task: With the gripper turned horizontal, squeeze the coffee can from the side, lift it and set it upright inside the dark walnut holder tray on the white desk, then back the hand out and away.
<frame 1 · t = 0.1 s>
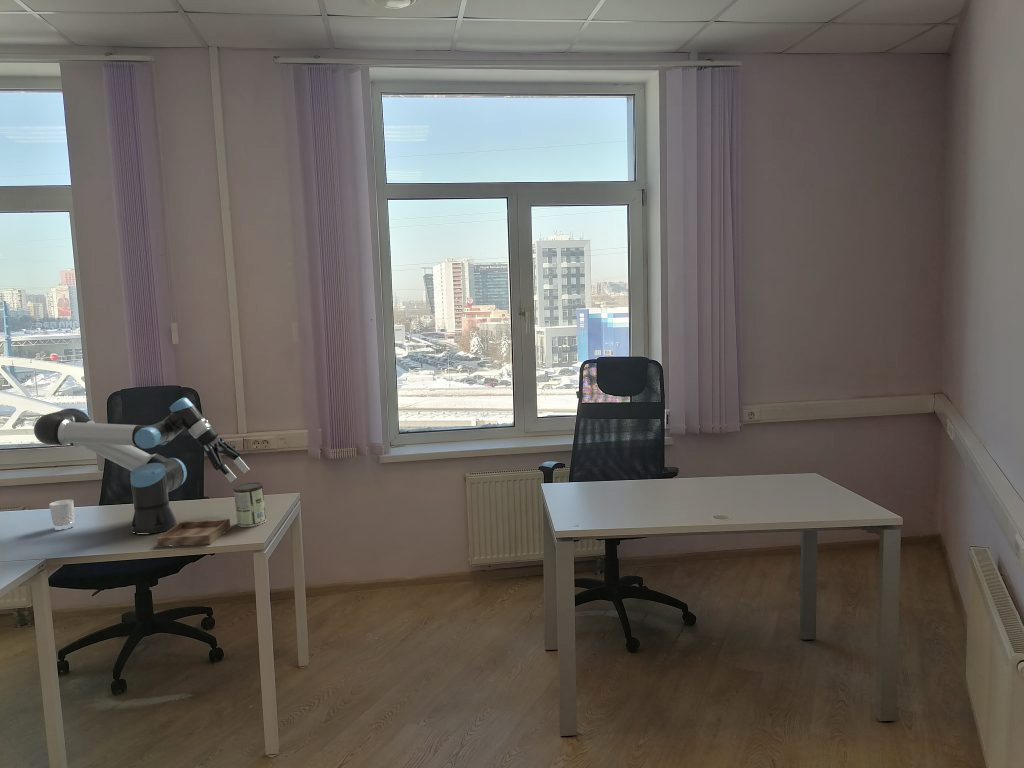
hand: (240, 475, 291), 15 cm above the table, tool tilted 35°, fingers open, 13 cm apart
holder tray: (195, 537, 267), on the table
white cup: (64, 528, 288), on the table
coffee can: (251, 523, 280), on the table
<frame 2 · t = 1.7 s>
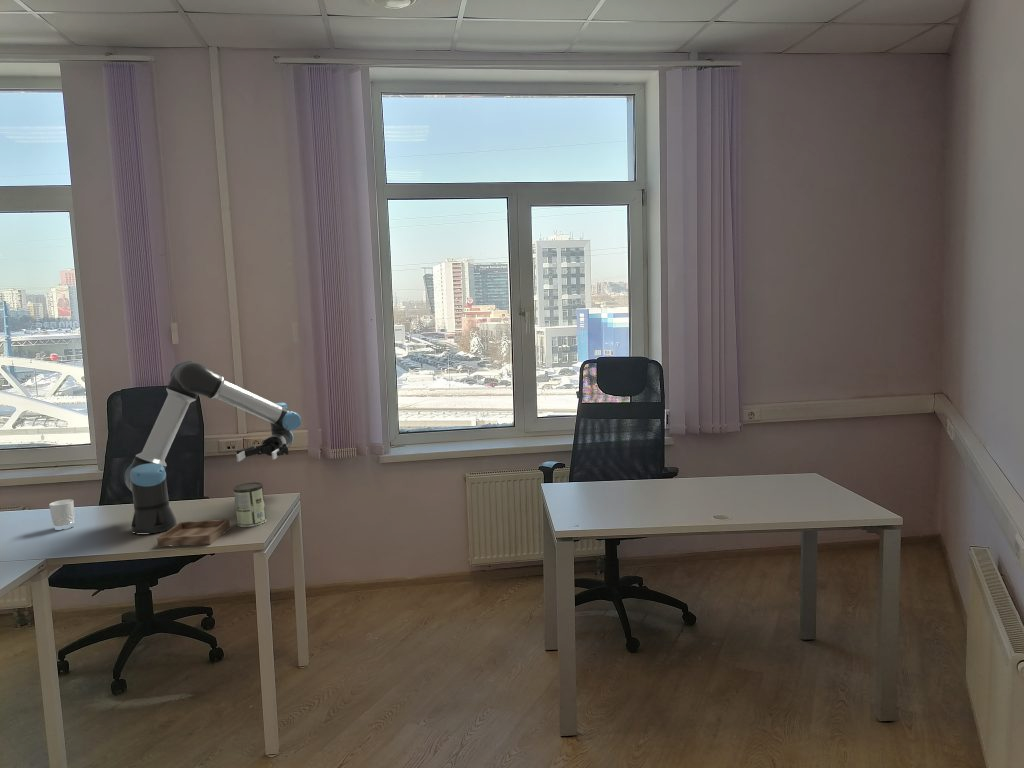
hand: (255, 457, 288), 23 cm above the table, tool horizontal, fingers open, 13 cm apart
nothing on the table moved.
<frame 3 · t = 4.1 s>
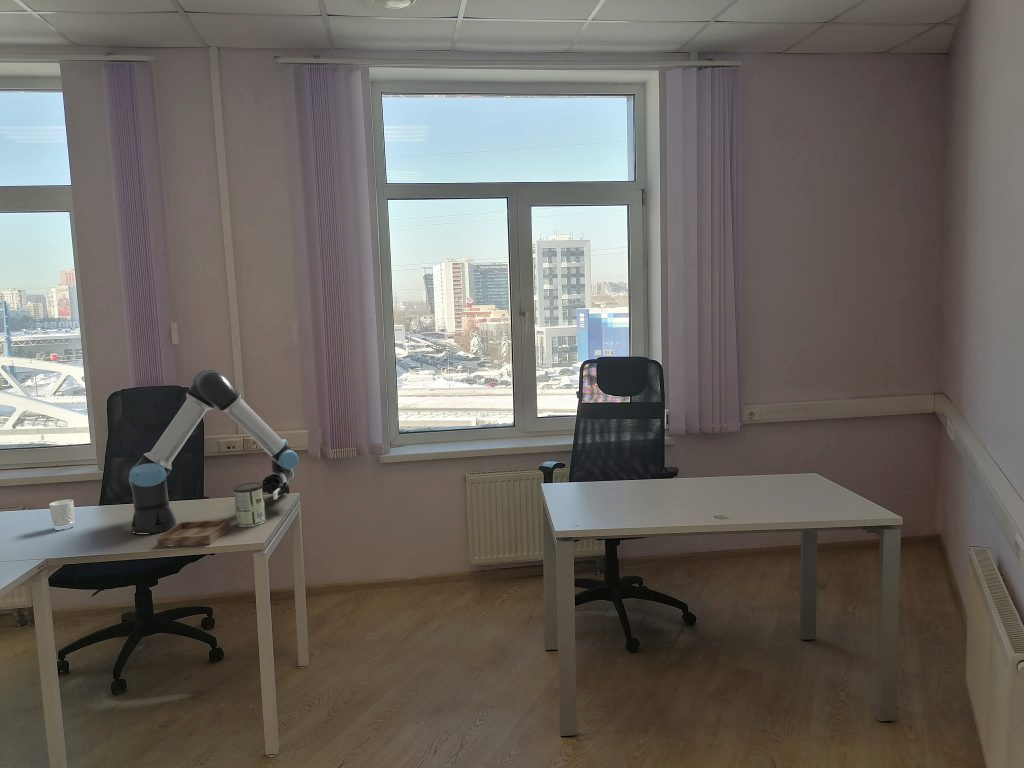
hand: (256, 497, 284), 8 cm above the table, tool horizontal, fingers open, 13 cm apart
nothing on the table moved.
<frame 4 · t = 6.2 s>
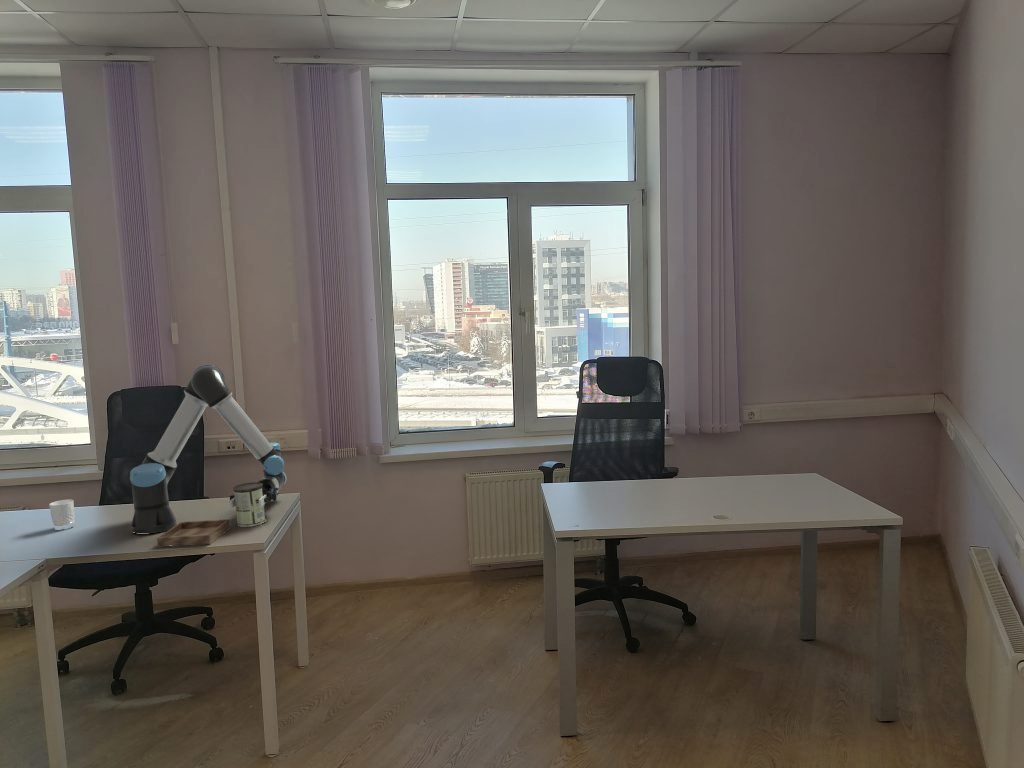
hand: (245, 504, 275), 8 cm above the table, tool horizontal, fingers closed on coffee can, 10 cm apart
coffee can: (251, 523, 280), on the table, touching gripper
everything else where it was.
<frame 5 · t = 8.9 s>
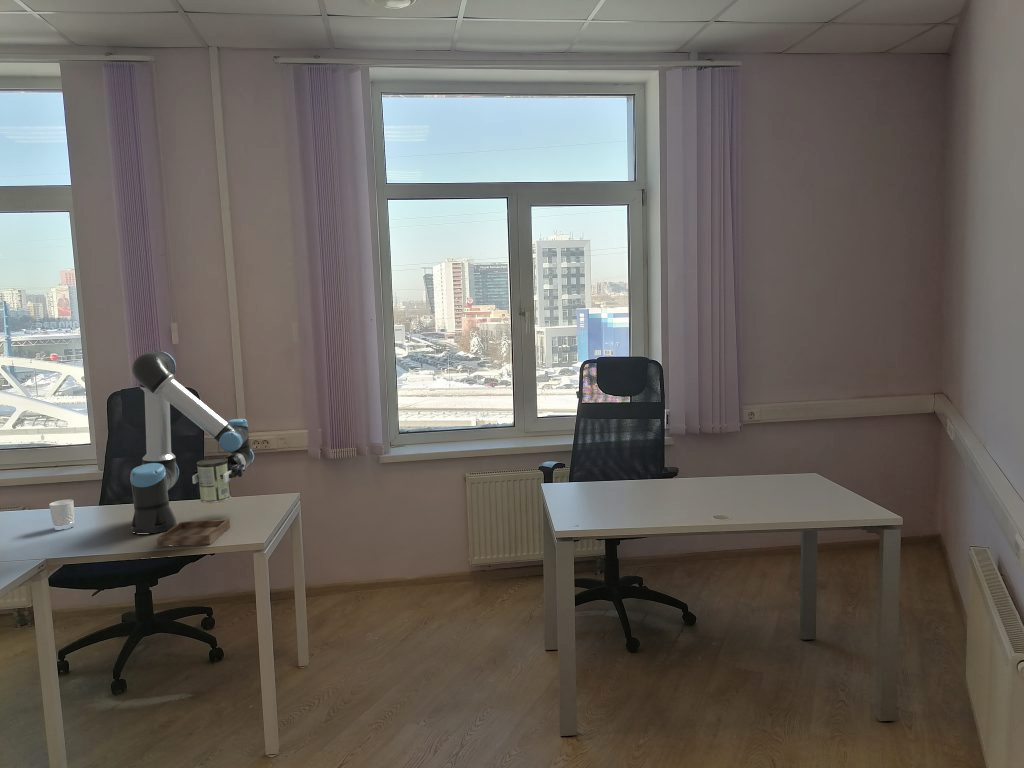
hand: (208, 479, 264), 21 cm above the table, tool horizontal, fingers closed on coffee can, 10 cm apart
coffee can: (215, 500, 269), point 12 cm above the table, touching gripper
everything else where it was.
when the fingers open (11 cm above the table, at t = 11.7 s): coffee can drops 1 cm, resting on holder tray.
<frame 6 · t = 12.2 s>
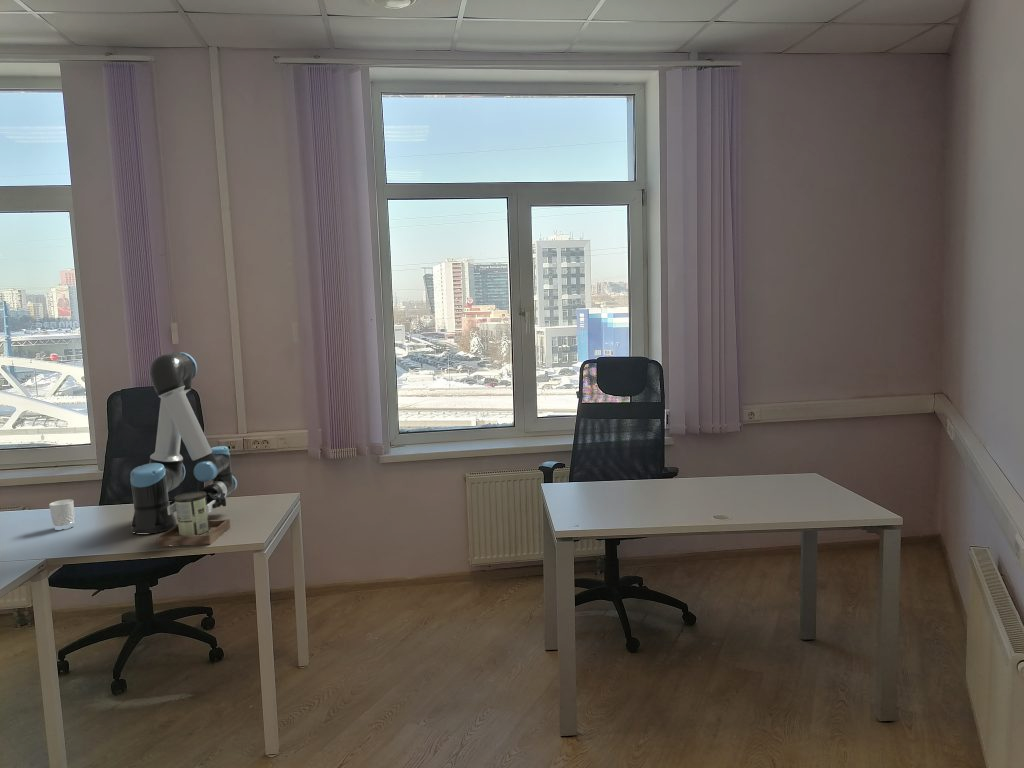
hand: (188, 510, 262), 11 cm above the table, tool horizontal, fingers open, 13 cm apart
coffee can: (194, 534, 267), point 1 cm above the table, touching holder tray
everything else where it was.
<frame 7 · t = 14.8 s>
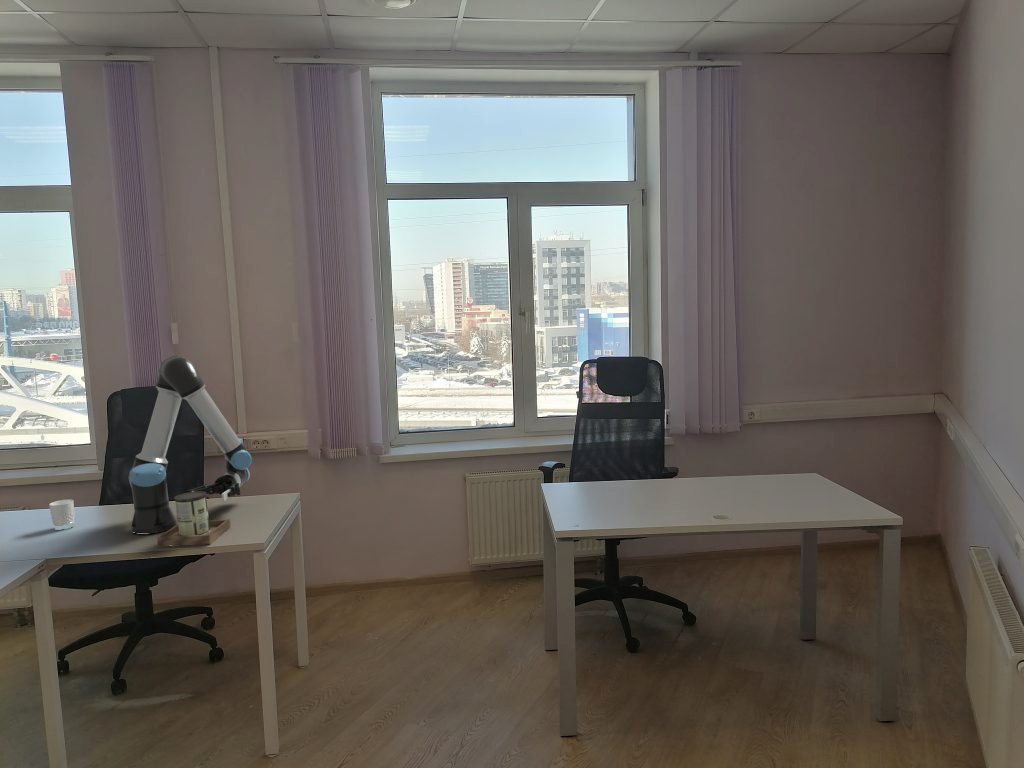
hand: (204, 498, 275), 11 cm above the table, tool horizontal, fingers open, 13 cm apart
nothing on the table moved.
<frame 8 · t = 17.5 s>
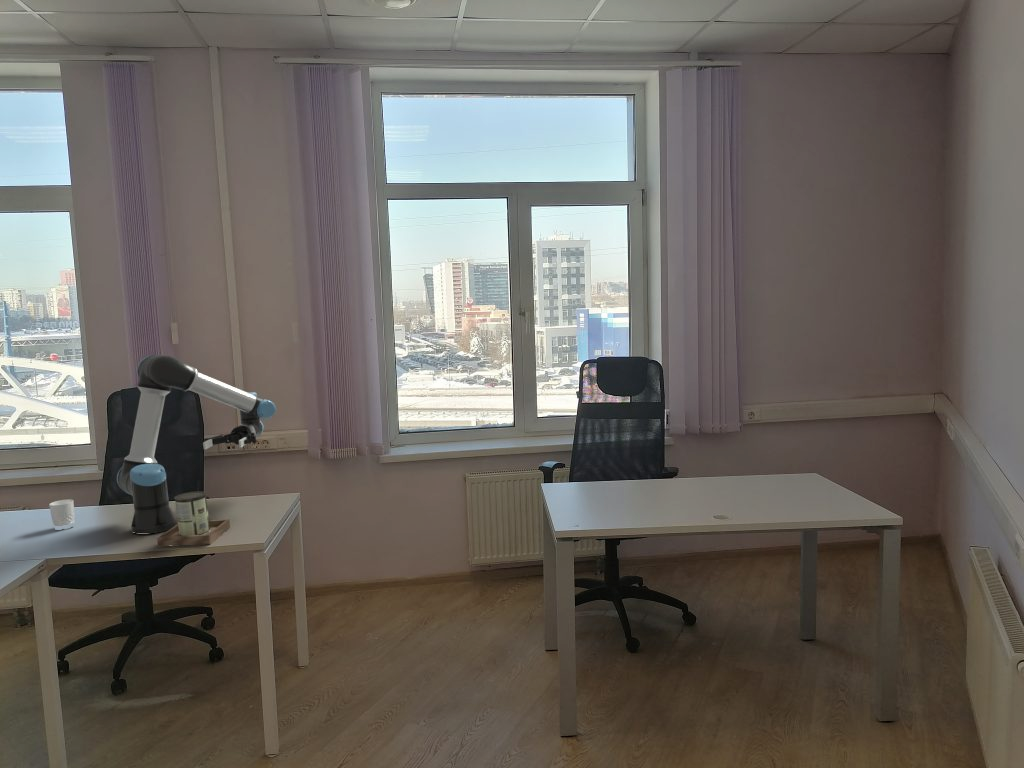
hand: (222, 445, 287), 28 cm above the table, tool horizontal, fingers open, 13 cm apart
nothing on the table moved.
at the end: coffee can inside the target area on the holder tray (0.1 cm from its centre), point 1.0 cm above the holder tray's base; coffee can tilted 0°; the gripper is holding nothing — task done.
